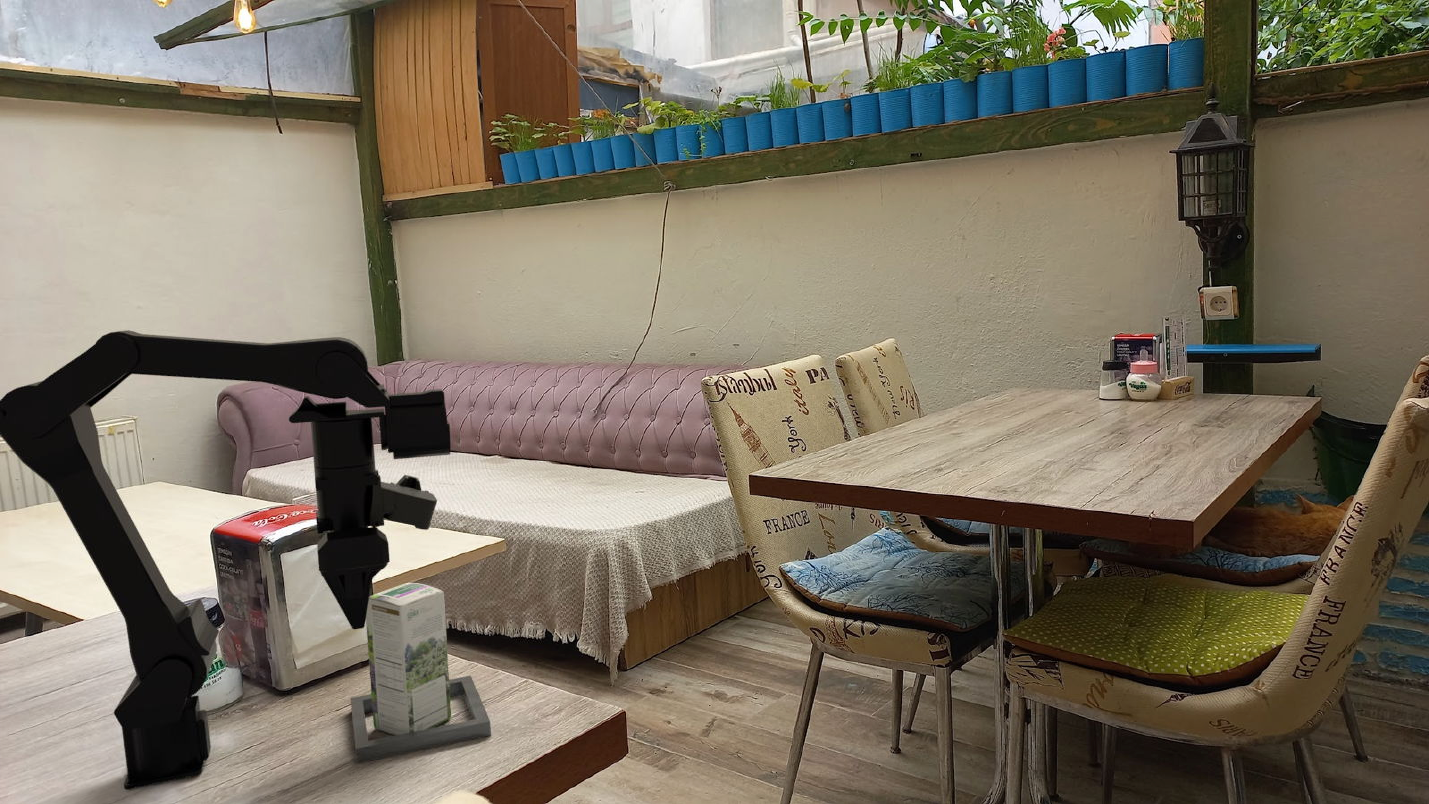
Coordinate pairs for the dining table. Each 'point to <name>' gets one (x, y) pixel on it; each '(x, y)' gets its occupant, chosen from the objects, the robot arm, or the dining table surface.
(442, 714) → the syrup box
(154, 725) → the robot arm
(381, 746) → the collar socket
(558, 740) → the dining table surface
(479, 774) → the dining table surface
